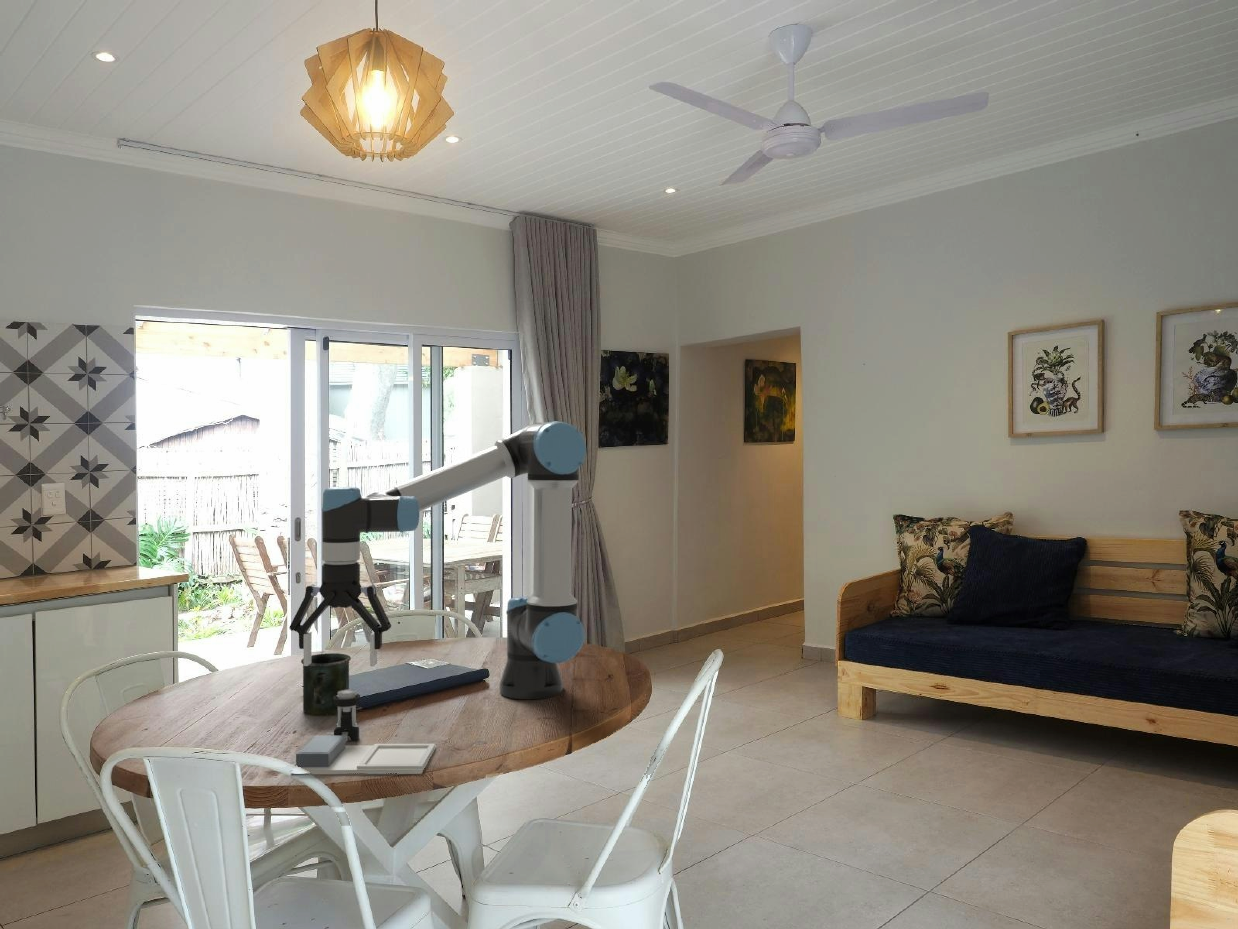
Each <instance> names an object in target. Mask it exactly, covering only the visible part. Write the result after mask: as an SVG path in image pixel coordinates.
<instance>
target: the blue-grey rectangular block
mask: <svg viewBox="0 0 1238 929" xmlns="http://www.w3.org/2000/svg"><path fill="white" fill-rule="evenodd" d="M345 746H346V742H345V735H334V734H327V735H325V734H324V735H322V734H321V735H318V734H317V735H314V736H313V737H312V738H311V739H309V741H308V742H307V743H306V744H304V745H303V746H302V748H300V750H299V751H297V752H296V754H295V765H297V766H298V767H329V766H330V765H331V764H332V763H333V762H334V760H335V759H336V758H337V757H338V756H339V755H340V754H341V753H342V751H343V750H344V749H345Z"/></svg>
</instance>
